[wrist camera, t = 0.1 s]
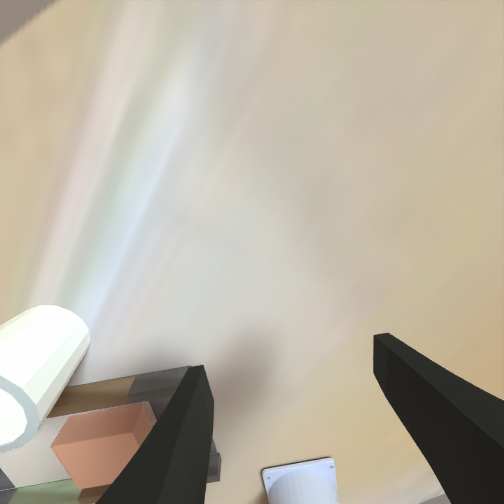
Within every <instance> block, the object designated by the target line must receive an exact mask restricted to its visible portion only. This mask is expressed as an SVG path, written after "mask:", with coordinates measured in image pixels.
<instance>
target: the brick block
mask: <svg viewBox="0 0 504 504" xmlns="http://www.w3.org/2000/svg"><path fill="white" fill-rule="evenodd" d="M152 428H153V426H152V424H151V421H150V419H149V417H148V414H147V412H146V410H145V407H144V405H143V404H140V405H134V406H128V407H123V408H117V409H111V410H105V411H100V412H94V413H88V414H82V415H77V416H71V417H69V418H68V420H67V422H66V423H65V425H64V426H63V428H62V429H61V431H60V433H59V434H58V436H57V437H56V439H55V440H54V442H53V443H52V445H51V448H52V450H53V451H54V453H55V454H56V456H57V457H58V459H59V460H60V462H61V463H62V465H63V466H64V468H65V470H66V471H67V473H68V474H69V476H70V477H71V479H72V480H73V482H74V483H75V485H76V486H77V488H78V490H79V489H84V488H90V487H96V486H102V485H108V484H112V483H113V481H114V480H115V479H116V478H117V477H118V475H119V474H120V473H121V471H122V470H123V469H124V468H125V466H126V465H127V464H128V462H129V461H130V460H131V458H132V457H133V456H134V454H135V453H136V451H137V450H138V449H139V447H140V446H141V444H142V443H143V441H144V440H145V438H146V437H147V435H148V434H149V432H150V431H151V429H152Z"/></svg>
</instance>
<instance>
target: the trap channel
mask: <svg viewBox="0 0 504 504" xmlns="http://www.w3.org/2000/svg"><path fill="white" fill-rule="evenodd" d="M189 367H192V366H186V367H180V368H175V369H169V370H163V371H158V372H152V373H146V374H141V375H135V376H129V377H123V378H118V379H112V380H106V381H101V382H95V383H89V384H83V385H78V386H72V387H66V388H64V390H63V391H62V393H61V395H60V396H59V398H58V400H57V401H56V403H55V405H54V406H53V408H52V409H51V411H50V413H49V414H48V416H47V418H51V417H57V416H62V415H68V414H74V413H79V412H85V411H91V410H97V409H102V408H108V407H114V406H119V405H125V404H131V403H137V402H142V401H148V400H149V402H150V405H151V407H152V409H153V412H154V414H155V417H156V419H157V420H158V419H159V417H160V416H161V414H162V412H163V411H164V409H165V407H166V406H167V404H168V402H169V401H170V399H171V397H172V396H173V394H174V392H175V391H176V389H177V387H178V385H179V383H180V382H181V380H182V378H183V376H184V374H185V373H186V371H187V369H188V368H189ZM216 452H217V451H216V448H215V444H214V441H213V438H212V443H211V451H210V453H216ZM220 469H221V457H220V454H219V453H216V454H210V459H209V467H208V475H207V483H211V482H217V481H220ZM110 485H111V484H108V485H102V486H96V487H90V488H84V489H79V490H78V488H77V486H76V485H75V483H74V482H73V480H72V479H67V480H62V481H56V482H50V483H45V484H39V485H33V486H28V487H22V488H16V489H10V488H15V486H14V485H13V484H12V483H11V481H10V480H9V479H8V478H7V476H6V475H5V474H4V473H3V471H2V470H1V469H0V490H5V489H10V490H5V491H0V504H92V503H96V502H97V501H98V500H99V499H100V497H101V496H102V495H103V494H104V493H105V491H106V490H107V489H108V488H109V486H110Z"/></svg>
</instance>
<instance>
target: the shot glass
mask: <svg viewBox="0 0 504 504" xmlns="http://www.w3.org/2000/svg"><path fill="white" fill-rule="evenodd" d="M90 342H91V340H90V333H89V329H88V328H87V326H86V325H85V323H84V322H83V320H82V319H80V318H79V317H78V316H76V315H75V314H74V313H72V312H71V311H69V310H66V309H64V308H61V307H58V306H49V305H40V306H37V307H33V308H30V309H28V310H26V311H24V312H23V313H21V314H19V315H17V316H16V317H14V318H12V319H11V320H9V321H7V322H6V323H4V324H2V325H1V326H0V453H2V452H6V451H9V450H13V449H16V448H20V447H22V446H24V445H25V444H26V443H27V442H29V441H30V440H31V439H32V438H34V437H35V436H36V434H37V433H38V431H39V429H40V428H41V426H42V424H43V423H44V421H45V419H46V418H47V416H48V414H49V413H50V411H51V409H52V408H53V406H54V405H55V403H56V401H57V400H58V398H59V396H60V395H61V393H62V391H63V390H64V388H65V386H66V385H67V383H68V381H69V380H70V378H71V377H72V375H73V373H74V372H75V370H76V368H77V367H78V365H79V363H80V362H81V360H82V358H83V357H84V355H85V353H86V352H87V350H88V347H89V344H90Z"/></svg>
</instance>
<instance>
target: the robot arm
mask: <svg viewBox="0 0 504 504" xmlns="http://www.w3.org/2000/svg"><path fill="white" fill-rule="evenodd" d="M373 373H374V375H375V377H376V379H377V381H378V383H379V385H380V387H381V389H382V391H383V393H384V395H385V397H386V398H387V400H388V402H389V403H390V405H391V406H392V408H393V409H394V411H395V412H396V414H397V416H398V417H399V419H400V420H401V422H402V423H403V425H404V426H405V428H406V429H407V431H408V432H409V434H410V435H411V437H412V438H413V440H414V441H415V443H416V445H417V446H418V448H419V449H420V451H421V452H422V454H423V455H424V457H425V458H426V460H427V462H428V463H429V465H430V466H431V468H432V470H433V471H434V473H435V475H436V477H437V479H438V480H439V482H440V484H441V486H442V488H443V489H444V491H445V493H446V495H447V497H448V499H449V500H450V502H451V504H504V400H502V399H499V398H497V397H495V396H493V395H491V394H490V393H488V392H486V391H484V390H482V389H480V388H478V387H476V386H475V385H473V384H471V383H469V382H467V381H466V380H464V379H462V378H460V377H458V376H457V375H455V374H453V373H452V372H450V371H448V370H446V369H445V368H443V367H442V366H440V365H438V364H437V363H435V362H433V361H432V360H430V359H429V358H427V357H425V356H424V355H422V354H421V353H419V352H417V351H416V350H414V349H413V348H411V347H410V346H408V345H407V344H405V343H404V342H402V341H400V340H399V339H397V338H396V337H394V336H393V335H391V334H389V333H383V334H378V335H374V346H373ZM213 419H214V400H213V396H212V393H211V389H210V386H209V382H208V379H207V376H206V372H205V369H204V365H199V366H194V367H189V368H188V369H187V371H186V373H185V374H184V376H183V378H182V380H181V382H180V383H179V385H178V387H177V389H176V391H175V392H174V394H173V396H172V397H171V399H170V401H169V402H168V404H167V406H166V407H165V409H164V411H163V412H162V414H161V416H160V417H159V419H158V420H157V422H156V423H155V425H154V426H153V428H152V429H151V431H150V432H149V434H148V435H147V437H146V438H145V440H144V441H143V443H142V444H141V446H140V447H139V449H138V450H137V451H136V453H135V454H134V456H133V457H132V458H131V460H130V461H129V462H128V464H127V465H126V466H125V468H124V469H123V470H122V471H121V473H120V474H119V475H118V477H117V478H116V479H115V480H114V481H113V483H112V484H111V485H110V486H109V488H108V489H107V490H106V491H105V493H104V494H103V495H102V496H101V497H100V499H99V500H98V501H97V502H96V503H95V504H204V500H205V491H206V483H207V475H208V467H209V459H210V451H211V443H212V434H213ZM262 476H263V480H264V484H265V488H266V493H267V497H268V501H269V504H339V502H338V498H337V485H336V472H335V462H334V459H333V458H324V459H319V460H313V461H307V462H302V463H296V464H290V465H285V466H279V467H273V468H268V469H264V470H263V471H262Z"/></svg>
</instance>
